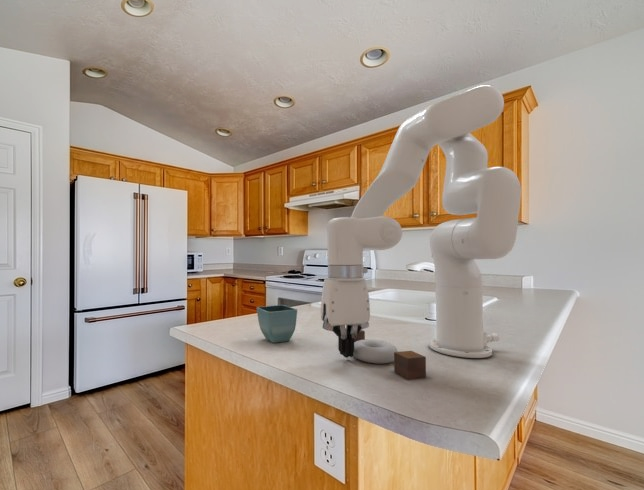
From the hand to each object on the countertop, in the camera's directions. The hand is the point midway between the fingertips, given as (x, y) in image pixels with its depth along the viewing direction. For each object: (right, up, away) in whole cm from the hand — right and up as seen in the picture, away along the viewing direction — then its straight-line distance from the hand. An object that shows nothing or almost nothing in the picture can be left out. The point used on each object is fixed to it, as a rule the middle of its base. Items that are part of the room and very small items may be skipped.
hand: (346, 355), depth 71 cm
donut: (+7, -1, +1) cm, 7 cm away
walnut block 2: (+10, -1, -9) cm, 13 cm away
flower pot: (-14, -2, +17) cm, 23 cm away
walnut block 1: (+6, -1, +12) cm, 13 cm away
